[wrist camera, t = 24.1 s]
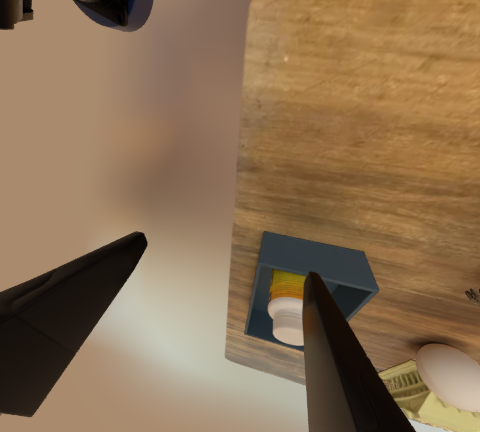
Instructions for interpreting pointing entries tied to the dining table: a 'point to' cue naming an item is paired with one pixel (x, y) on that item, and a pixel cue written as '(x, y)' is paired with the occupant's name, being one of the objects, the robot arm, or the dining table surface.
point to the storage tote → (302, 262)
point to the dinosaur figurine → (473, 299)
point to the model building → (426, 401)
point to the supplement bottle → (286, 306)
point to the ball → (450, 375)
